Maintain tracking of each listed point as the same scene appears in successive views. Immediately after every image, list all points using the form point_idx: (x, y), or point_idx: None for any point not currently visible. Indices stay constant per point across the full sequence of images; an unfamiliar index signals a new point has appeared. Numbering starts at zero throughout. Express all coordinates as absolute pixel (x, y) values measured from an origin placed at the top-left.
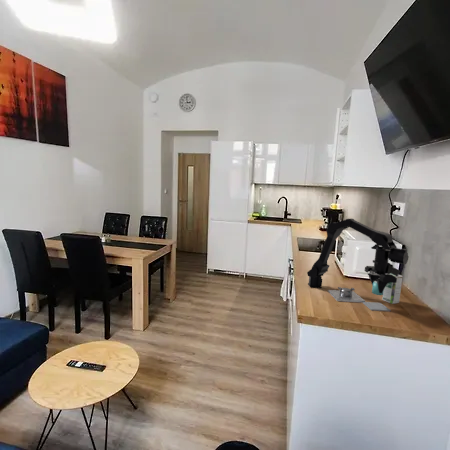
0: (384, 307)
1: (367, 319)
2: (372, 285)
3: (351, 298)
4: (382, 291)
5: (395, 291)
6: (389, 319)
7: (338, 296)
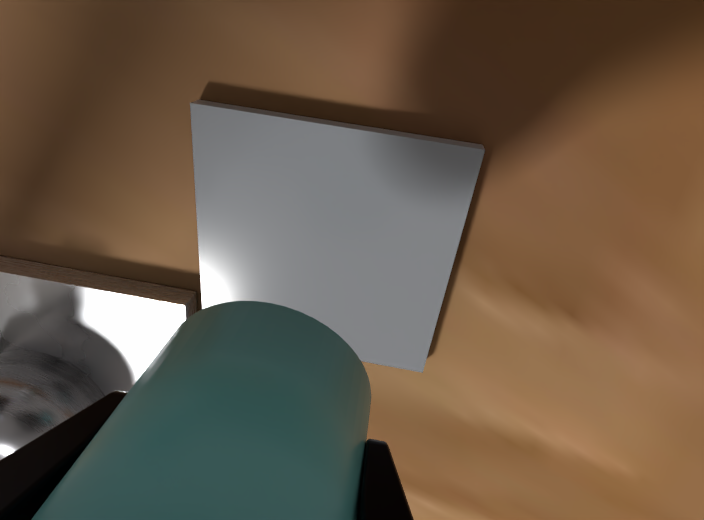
0: (378, 176)
1: (611, 506)
2: None
3: None
4: (397, 481)
5: None
6: (692, 335)
7: None
